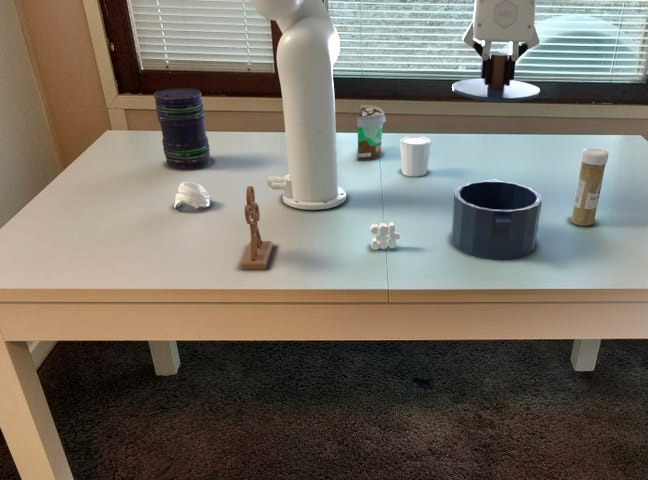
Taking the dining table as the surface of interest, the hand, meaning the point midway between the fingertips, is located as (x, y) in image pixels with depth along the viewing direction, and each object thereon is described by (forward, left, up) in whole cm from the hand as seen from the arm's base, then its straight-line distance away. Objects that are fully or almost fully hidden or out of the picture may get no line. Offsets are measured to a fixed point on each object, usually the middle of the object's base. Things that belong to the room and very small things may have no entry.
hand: (496, 82), depth 115 cm
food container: (-24, +31, -23) cm, 46 cm away
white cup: (-14, +19, -23) cm, 33 cm away
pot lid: (0, 0, -1) cm, 1 cm away
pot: (0, -17, -23) cm, 28 cm away
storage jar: (-65, +21, -23) cm, 72 cm away
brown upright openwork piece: (-40, -26, -23) cm, 53 cm away
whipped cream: (-57, -4, -23) cm, 62 cm away
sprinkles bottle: (+18, -7, -23) cm, 30 cm away
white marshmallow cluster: (-19, -21, -23) cm, 36 cm away
